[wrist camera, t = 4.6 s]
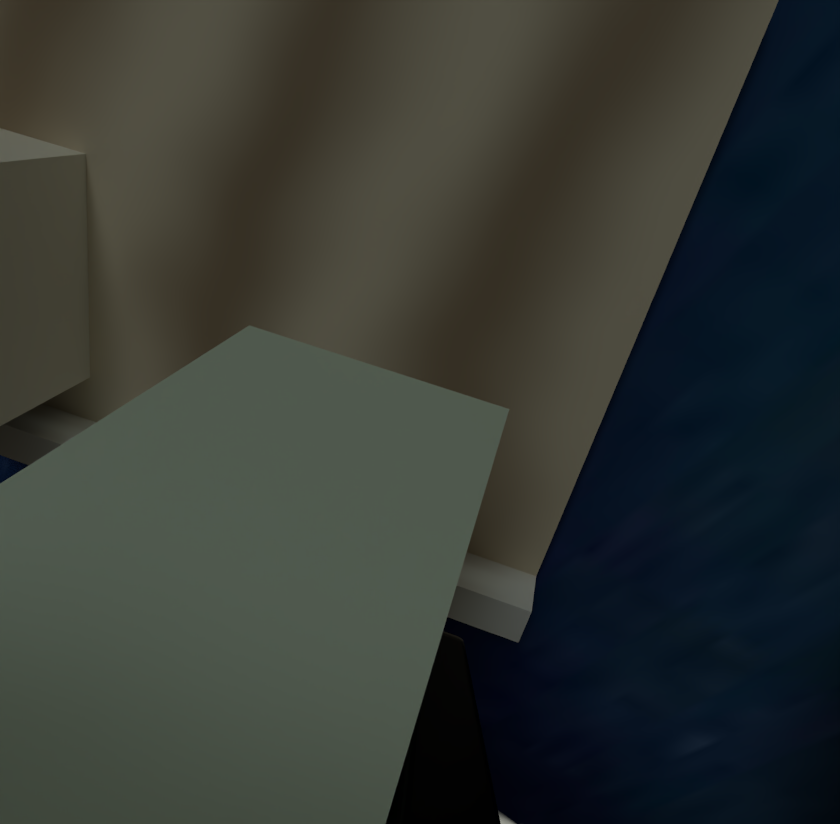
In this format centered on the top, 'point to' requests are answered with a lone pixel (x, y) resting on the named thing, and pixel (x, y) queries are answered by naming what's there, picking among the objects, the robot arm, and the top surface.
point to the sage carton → (234, 592)
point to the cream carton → (41, 272)
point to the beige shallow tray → (385, 204)
